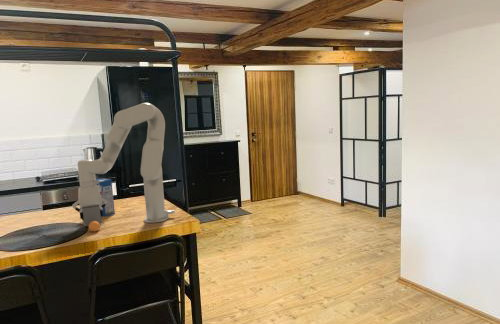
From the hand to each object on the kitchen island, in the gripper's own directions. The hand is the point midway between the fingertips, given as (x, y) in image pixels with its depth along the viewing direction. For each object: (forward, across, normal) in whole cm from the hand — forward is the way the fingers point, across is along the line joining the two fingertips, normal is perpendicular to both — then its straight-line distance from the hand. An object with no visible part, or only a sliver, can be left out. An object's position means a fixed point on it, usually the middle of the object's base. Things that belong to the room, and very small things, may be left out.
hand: (91, 218), depth 184 cm
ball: (+2, 0, +10) cm, 11 cm away
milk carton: (+4, -8, -20) cm, 22 cm away
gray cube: (+3, 0, 0) cm, 3 cm away
